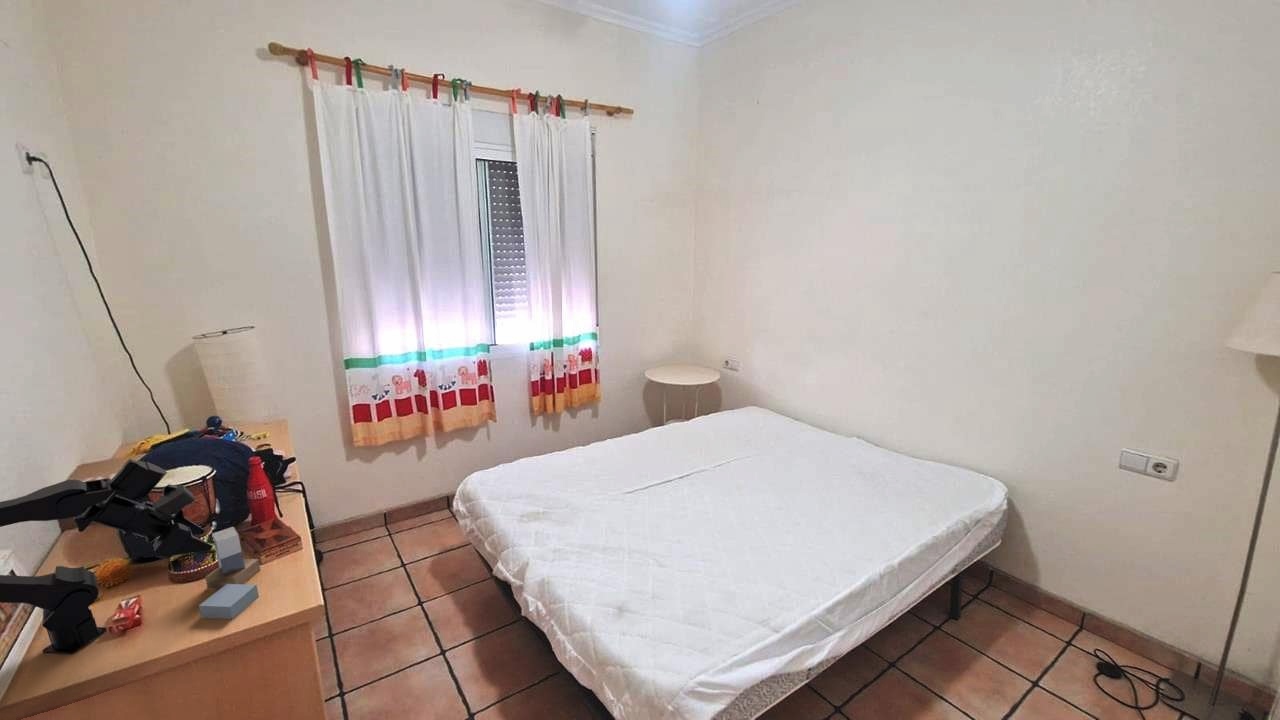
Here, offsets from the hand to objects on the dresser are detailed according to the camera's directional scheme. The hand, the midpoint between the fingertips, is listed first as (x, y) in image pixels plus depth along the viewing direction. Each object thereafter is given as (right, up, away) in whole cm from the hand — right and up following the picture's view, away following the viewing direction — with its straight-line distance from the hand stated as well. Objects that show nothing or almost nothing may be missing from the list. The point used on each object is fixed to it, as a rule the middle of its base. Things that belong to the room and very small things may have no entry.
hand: (207, 540), depth 115 cm
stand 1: (+2, -11, +5) cm, 12 cm away
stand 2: (+9, -13, -4) cm, 16 cm away
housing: (+2, -8, +4) cm, 9 cm away
